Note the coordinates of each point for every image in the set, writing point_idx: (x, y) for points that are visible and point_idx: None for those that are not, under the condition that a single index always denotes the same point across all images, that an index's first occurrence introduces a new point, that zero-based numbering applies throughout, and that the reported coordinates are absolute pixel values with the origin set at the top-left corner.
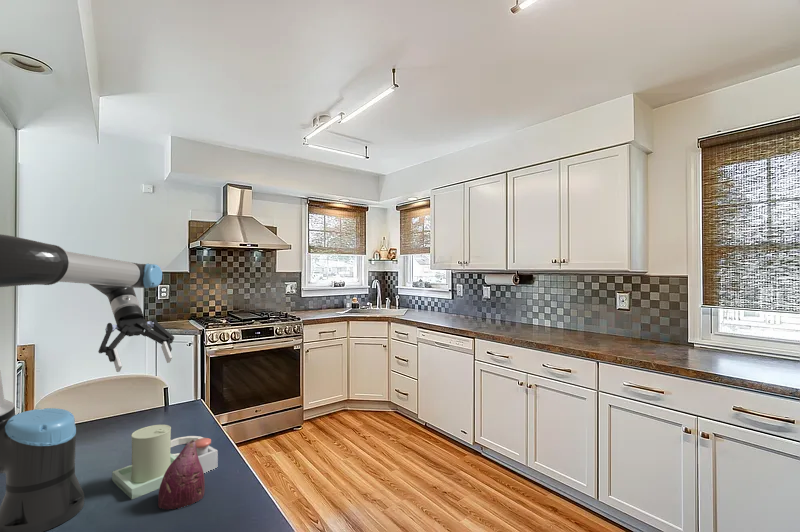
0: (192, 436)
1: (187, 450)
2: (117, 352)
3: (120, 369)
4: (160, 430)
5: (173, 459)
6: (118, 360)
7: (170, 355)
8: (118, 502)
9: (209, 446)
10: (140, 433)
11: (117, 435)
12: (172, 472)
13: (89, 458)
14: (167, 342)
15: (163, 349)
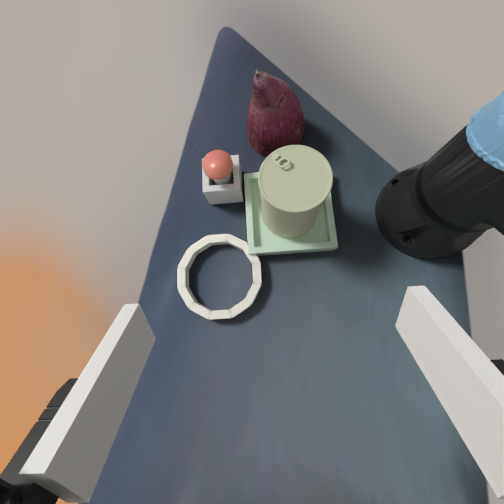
0: (187, 302)
1: (270, 75)
2: (498, 397)
3: (400, 312)
4: (280, 170)
5: (252, 220)
6: (447, 322)
7: (122, 317)
8: (338, 179)
9: (203, 182)
10: (315, 183)
11: (283, 485)
12: (293, 92)
13: (350, 385)
14: (15, 479)
15: (105, 430)
